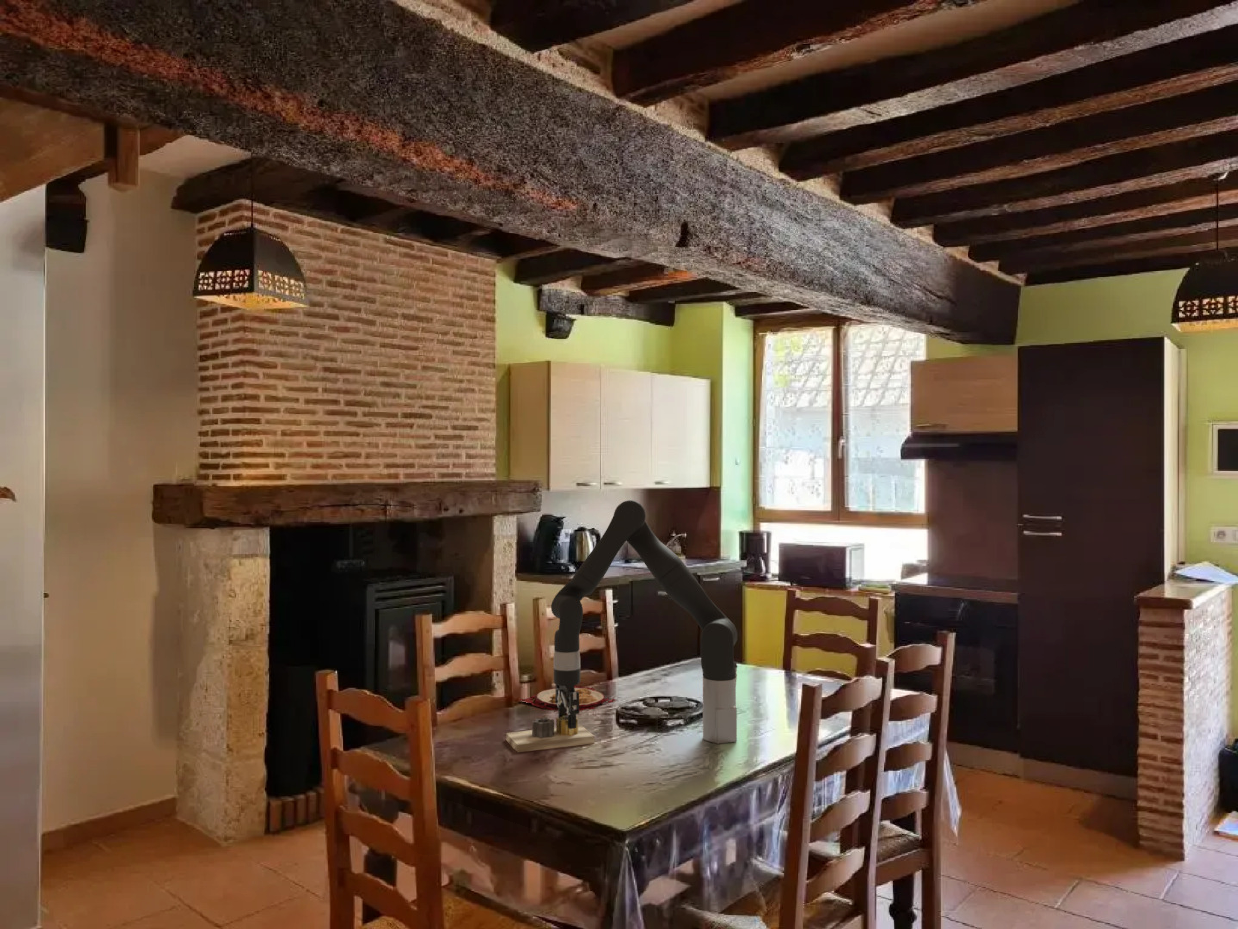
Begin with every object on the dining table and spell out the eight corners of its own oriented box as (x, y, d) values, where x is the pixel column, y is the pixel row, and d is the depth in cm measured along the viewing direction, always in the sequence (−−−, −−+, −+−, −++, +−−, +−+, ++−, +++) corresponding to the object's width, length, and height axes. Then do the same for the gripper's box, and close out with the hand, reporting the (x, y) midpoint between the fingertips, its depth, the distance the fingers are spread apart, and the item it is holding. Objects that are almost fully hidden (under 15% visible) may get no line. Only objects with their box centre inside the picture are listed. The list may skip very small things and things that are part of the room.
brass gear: (580, 734, 260) (580, 720, 260) (560, 736, 258) (560, 722, 258) (573, 728, 266) (573, 714, 266) (554, 731, 264) (554, 716, 264)
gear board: (594, 743, 259) (594, 719, 259) (517, 752, 251) (517, 728, 251) (580, 731, 270) (580, 709, 270) (506, 740, 262) (506, 717, 262)
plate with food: (518, 704, 304) (518, 694, 304) (575, 688, 322) (575, 678, 322) (567, 719, 287) (567, 708, 287) (625, 702, 305) (625, 691, 305)
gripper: (588, 670, 257) (588, 729, 257) (571, 660, 270) (571, 716, 270) (561, 673, 254) (562, 732, 254) (546, 662, 267) (546, 719, 267)
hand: (567, 724), depth 262 cm, fingers open, 8 cm apart
